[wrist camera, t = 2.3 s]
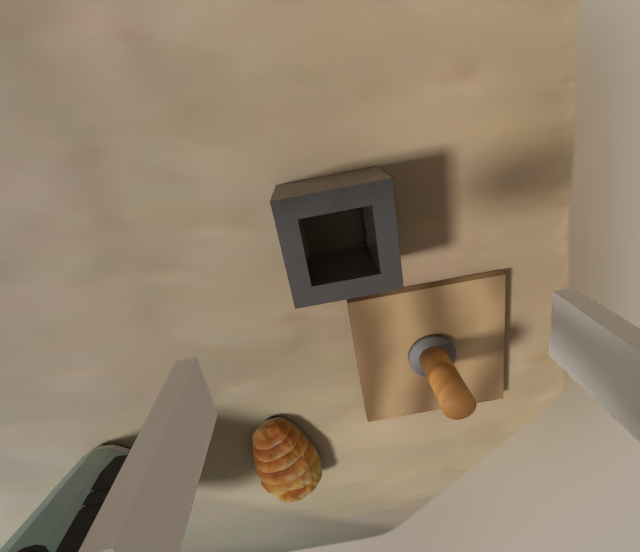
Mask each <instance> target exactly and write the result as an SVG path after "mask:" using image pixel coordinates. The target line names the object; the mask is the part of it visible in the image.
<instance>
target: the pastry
mask: <svg viewBox="0 0 640 552" xmlns="http://www.w3.org/2000/svg"><path fill="white" fill-rule="evenodd" d="M252 439H253V450H252V452H253V454H254V463H255V469H256V472H257V474H258V475H259V477H260V479H261V480H262V481H261V484H262V486H263V487H264V488H265V490H266V491H267V492H269V493H273V494H274V495H275V496H276V497H277V498H278V499H279V500H280V501H283V502H294V501H299V500H301V499H303V498H304V497H305V496H306V495H307V494H310V493H311V492H312V491H313V490H314V489H315V488H316V486H317V484H318V483H319V481H320V479H321V476H322V471H321V458H320V456H319V454H318V452H317V450H316V448H315V446H314V445H313V444H312V443H311V441H310V440H309V439H308V438H307V436H306V435H304V434H303V433H302V431H301V430H300V429H299V428H298V427H297V426H296V425H295V424H294V423H293V422H290V421H288V420H286V419H285V418H283V417H276V418H273V419H269V420H266V421H264V422H263V423H262V424H261V425H260V426H259V427H258V428H257V430H256V431H255V433H254V434H253V436H252Z"/></svg>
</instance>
